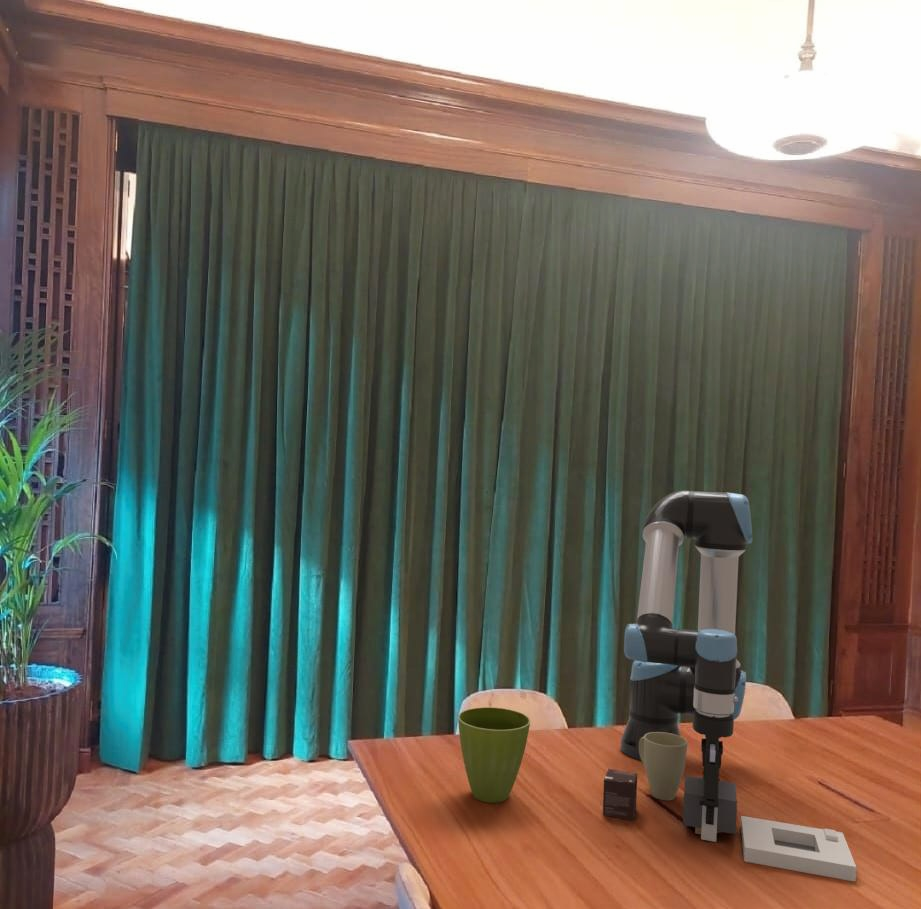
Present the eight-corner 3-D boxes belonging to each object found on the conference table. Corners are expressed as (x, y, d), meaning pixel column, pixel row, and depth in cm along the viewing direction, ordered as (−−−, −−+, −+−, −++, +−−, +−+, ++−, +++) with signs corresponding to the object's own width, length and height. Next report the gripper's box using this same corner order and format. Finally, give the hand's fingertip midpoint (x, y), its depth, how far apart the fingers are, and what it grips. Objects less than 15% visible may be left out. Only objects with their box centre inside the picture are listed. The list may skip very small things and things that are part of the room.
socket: (744, 861, 141) (744, 842, 141) (740, 828, 154) (741, 811, 154) (855, 881, 136) (856, 862, 136) (842, 846, 149) (842, 828, 149)
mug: (688, 791, 172) (691, 735, 172) (681, 808, 163) (683, 749, 163) (638, 780, 176) (640, 726, 177) (627, 796, 167) (630, 739, 168)
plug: (682, 835, 150) (684, 792, 150) (683, 815, 159) (685, 775, 159) (735, 845, 147) (737, 801, 147) (733, 824, 156) (735, 783, 157)
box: (636, 809, 161) (638, 773, 161) (633, 821, 155) (634, 783, 155) (606, 804, 163) (608, 768, 163) (601, 815, 157) (603, 778, 157)
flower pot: (504, 818, 154) (508, 735, 154) (440, 798, 162) (444, 719, 162) (538, 793, 166) (542, 717, 167) (477, 776, 174) (481, 703, 175)
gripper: (736, 731, 142) (730, 858, 141) (731, 699, 163) (727, 809, 163) (692, 725, 144) (687, 850, 144) (693, 694, 165) (689, 803, 165)
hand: (708, 828), depth 153 cm, fingers closed on plug, 9 cm apart
